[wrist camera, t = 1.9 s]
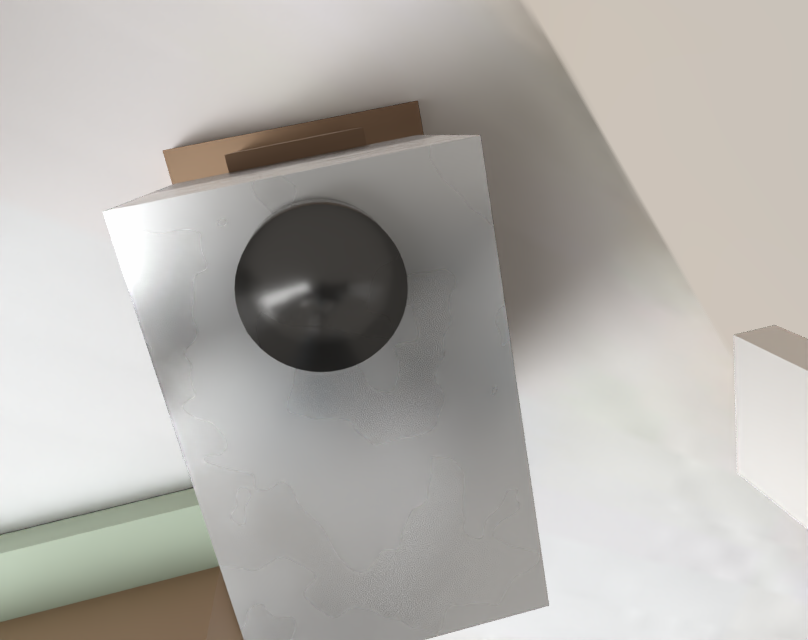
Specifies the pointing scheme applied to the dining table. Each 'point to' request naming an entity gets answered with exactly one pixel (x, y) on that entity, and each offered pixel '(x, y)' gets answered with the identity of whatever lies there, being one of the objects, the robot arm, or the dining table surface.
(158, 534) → the stand
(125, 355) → the dining table surface
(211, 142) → the stand
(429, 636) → the cover plate
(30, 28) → the dining table surface
